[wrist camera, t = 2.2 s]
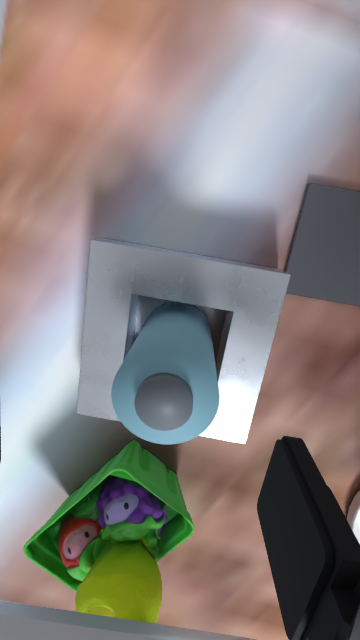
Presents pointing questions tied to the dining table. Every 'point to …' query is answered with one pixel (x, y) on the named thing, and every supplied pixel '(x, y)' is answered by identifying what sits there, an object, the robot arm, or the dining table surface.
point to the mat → (327, 246)
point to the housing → (186, 287)
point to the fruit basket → (116, 536)
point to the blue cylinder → (168, 377)
